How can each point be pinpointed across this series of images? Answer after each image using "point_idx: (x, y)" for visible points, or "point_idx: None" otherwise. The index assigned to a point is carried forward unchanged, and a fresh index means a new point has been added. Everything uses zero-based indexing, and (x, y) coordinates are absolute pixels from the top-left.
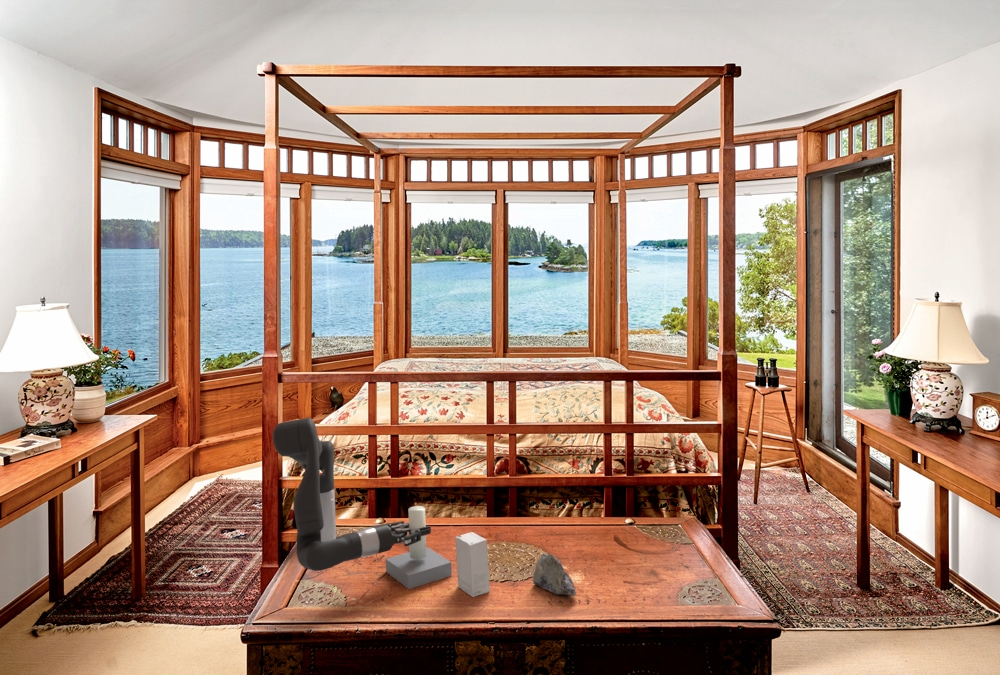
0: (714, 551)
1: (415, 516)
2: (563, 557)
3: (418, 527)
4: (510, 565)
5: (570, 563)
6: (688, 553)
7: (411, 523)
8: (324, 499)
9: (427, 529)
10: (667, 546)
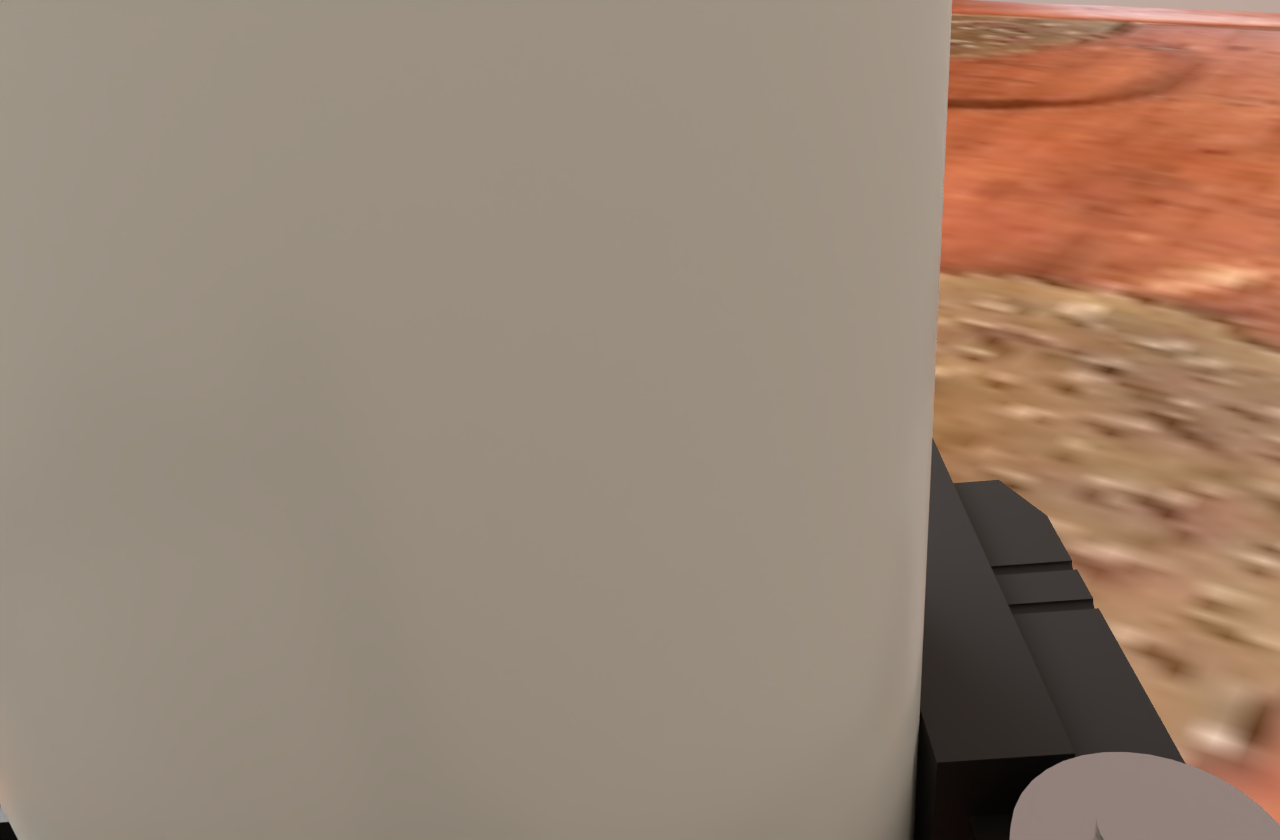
0: (1244, 12)
1: (876, 76)
2: (1060, 244)
3: (912, 714)
4: (1047, 455)
5: (1180, 246)
6: (1235, 39)
7: (591, 807)
8: None
9: (1065, 549)
10: (1124, 52)
